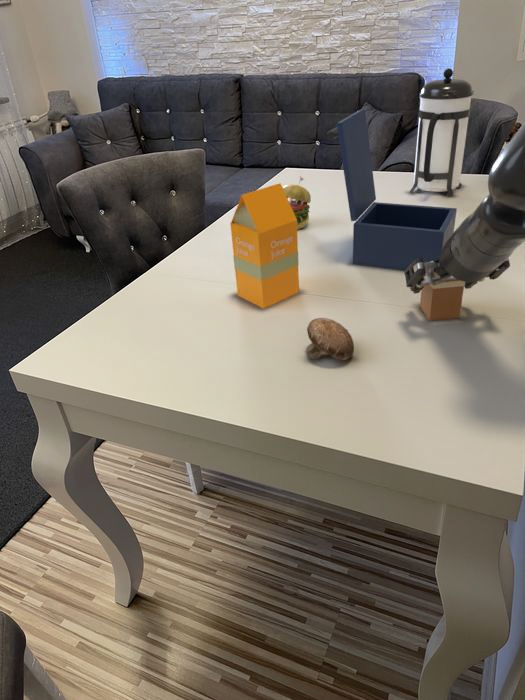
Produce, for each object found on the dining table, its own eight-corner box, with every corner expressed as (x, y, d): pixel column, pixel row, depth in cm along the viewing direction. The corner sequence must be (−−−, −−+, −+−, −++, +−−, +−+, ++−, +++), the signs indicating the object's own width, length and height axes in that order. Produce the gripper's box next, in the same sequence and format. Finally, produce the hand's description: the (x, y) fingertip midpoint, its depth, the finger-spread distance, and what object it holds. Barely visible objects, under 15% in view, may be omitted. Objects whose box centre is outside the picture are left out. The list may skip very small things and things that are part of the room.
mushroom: (288, 347, 78) (312, 313, 76) (301, 339, 85) (323, 307, 83) (332, 380, 77) (358, 346, 75) (341, 369, 84) (365, 337, 82)
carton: (448, 306, 92) (454, 263, 88) (459, 320, 88) (466, 276, 83) (418, 309, 92) (423, 266, 87) (428, 323, 87) (434, 279, 83)
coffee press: (395, 187, 151) (403, 69, 135) (448, 181, 153) (462, 63, 137) (421, 205, 137) (433, 75, 121) (479, 198, 139) (499, 68, 123)
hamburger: (274, 228, 130) (271, 178, 124) (295, 220, 134) (293, 171, 127) (296, 235, 125) (294, 184, 119) (317, 227, 129) (317, 176, 122)
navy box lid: (364, 108, 105) (341, 113, 107) (341, 122, 95) (316, 126, 97) (376, 199, 113) (354, 201, 116) (356, 220, 103) (332, 222, 105)
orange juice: (237, 298, 100) (226, 191, 89) (272, 282, 104) (266, 179, 94) (264, 311, 95) (255, 199, 84) (300, 295, 99) (296, 186, 88)
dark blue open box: (451, 250, 112) (456, 208, 107) (438, 277, 101) (444, 232, 97) (371, 242, 119) (373, 202, 114) (352, 266, 108) (353, 223, 103)
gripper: (526, 214, 73) (478, 260, 89) (423, 224, 72) (393, 268, 88) (537, 266, 71) (487, 303, 87) (432, 276, 71) (400, 311, 87)
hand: (440, 285), depth 88 cm, fingers open, 8 cm apart
